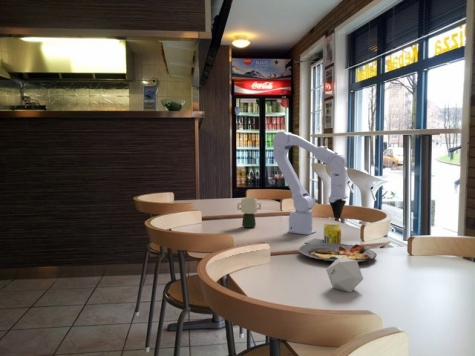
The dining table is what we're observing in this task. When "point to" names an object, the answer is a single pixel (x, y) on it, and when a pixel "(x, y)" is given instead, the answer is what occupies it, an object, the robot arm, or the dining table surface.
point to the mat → (314, 241)
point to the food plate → (337, 252)
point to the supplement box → (332, 234)
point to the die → (344, 274)
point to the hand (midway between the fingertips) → (337, 218)
